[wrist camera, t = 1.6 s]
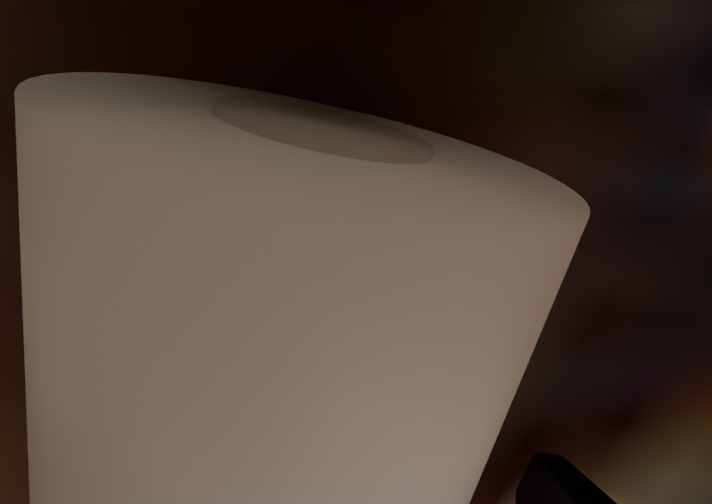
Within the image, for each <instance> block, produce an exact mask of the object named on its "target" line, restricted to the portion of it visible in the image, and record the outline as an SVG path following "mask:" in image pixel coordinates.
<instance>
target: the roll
mask: <svg viewBox="0 0 712 504" xmlns="http://www.w3.org/2000/svg"><path fill="white" fill-rule="evenodd" d="M14 96H15V123H16V149H17V176H18V202H19V229H20V256H21V282H22V309H23V335H24V362H25V389H26V415H27V442H28V468H29V495H30V504H469V503H470V501H471V498H472V496H473V493H474V491H475V489H476V486H477V484H478V481H479V479H480V477H481V474H482V472H483V470H484V467H485V465H486V462H487V460H488V458H489V455H490V453H491V450H492V448H493V446H494V443H495V441H496V438H497V436H498V434H499V431H500V429H501V426H502V424H503V422H504V419H505V417H506V415H507V412H508V410H509V407H510V405H511V403H512V400H513V398H514V395H515V393H516V391H517V388H518V386H519V383H520V381H521V379H522V376H523V374H524V372H525V369H526V367H527V364H528V362H529V360H530V357H531V355H532V352H533V350H534V348H535V345H536V343H537V340H538V338H539V336H540V333H541V331H542V328H543V326H544V324H545V321H546V319H547V317H548V314H549V312H550V309H551V307H552V305H553V302H554V300H555V297H556V295H557V293H558V290H559V288H560V285H561V283H562V281H563V278H564V276H565V274H566V271H567V269H568V266H569V264H570V262H571V259H572V257H573V254H574V252H575V250H576V247H577V245H578V242H579V240H580V238H581V235H582V233H583V230H584V228H585V226H586V223H587V221H588V219H589V216H590V207H589V206H588V204H587V203H586V201H585V200H584V199H583V198H582V197H581V196H580V195H579V194H577V193H576V192H575V191H573V190H572V189H570V188H569V187H568V186H566V185H565V184H563V183H561V182H559V181H557V180H556V179H554V178H552V177H550V176H548V175H546V174H544V173H542V172H540V171H538V170H536V169H534V168H531V167H529V166H527V165H525V164H522V163H520V162H518V161H515V160H513V159H510V158H508V157H505V156H502V155H500V154H497V153H495V152H492V151H489V150H486V149H484V148H481V147H478V146H475V145H472V144H469V143H466V142H463V141H460V140H457V139H454V138H451V137H448V136H445V135H441V134H438V133H435V132H431V131H428V130H425V129H421V128H418V127H414V126H411V125H407V124H404V123H400V122H396V121H393V120H389V119H385V118H381V117H378V116H374V115H369V114H365V113H360V112H356V111H352V110H347V109H343V108H338V107H334V106H329V105H325V104H321V103H316V102H312V101H307V100H303V99H299V98H294V97H290V96H285V95H280V94H274V93H269V92H264V91H258V90H252V89H247V88H241V87H235V86H228V85H222V84H216V83H209V82H202V81H195V80H187V79H178V78H170V77H161V76H151V75H139V74H126V73H106V72H71V73H56V74H48V75H41V76H37V77H33V78H29V79H27V80H25V81H23V82H21V83H19V84H18V86H17V87H16V89H15V91H14Z"/></svg>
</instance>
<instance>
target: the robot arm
mask: <svg viewBox="0 0 712 504" xmlns="http://www.w3.org/2000/svg"><path fill="white" fill-rule="evenodd" d="M516 504H617V503H615V502H614V501H613V500H612V499H611V498H610V497H609V496H607V495H606V494H605V493H604V492H603V491H602V490H601V489H600V488H598V487H597V486H596V485H595V484H594V483H593V482H592V481H590V480H589V479H588V478H587V477H586V476H585V475H584V474H582V473H581V472H580V471H579V470H578V469H577V468H576V467H575V466H573V465H572V464H571V463H570V462H569V461H568V460H567V459H565V458H564V457H562V456H560V455H556V454H550V453H543V452H538V453H535V454H534V455H533V456H532V458H531V459H530V462H529V464H528V466H527V468H526V470H525V473H524V475H523V477H522V479H521V481H520V483H519V486H518V488H517V492H516Z"/></svg>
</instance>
